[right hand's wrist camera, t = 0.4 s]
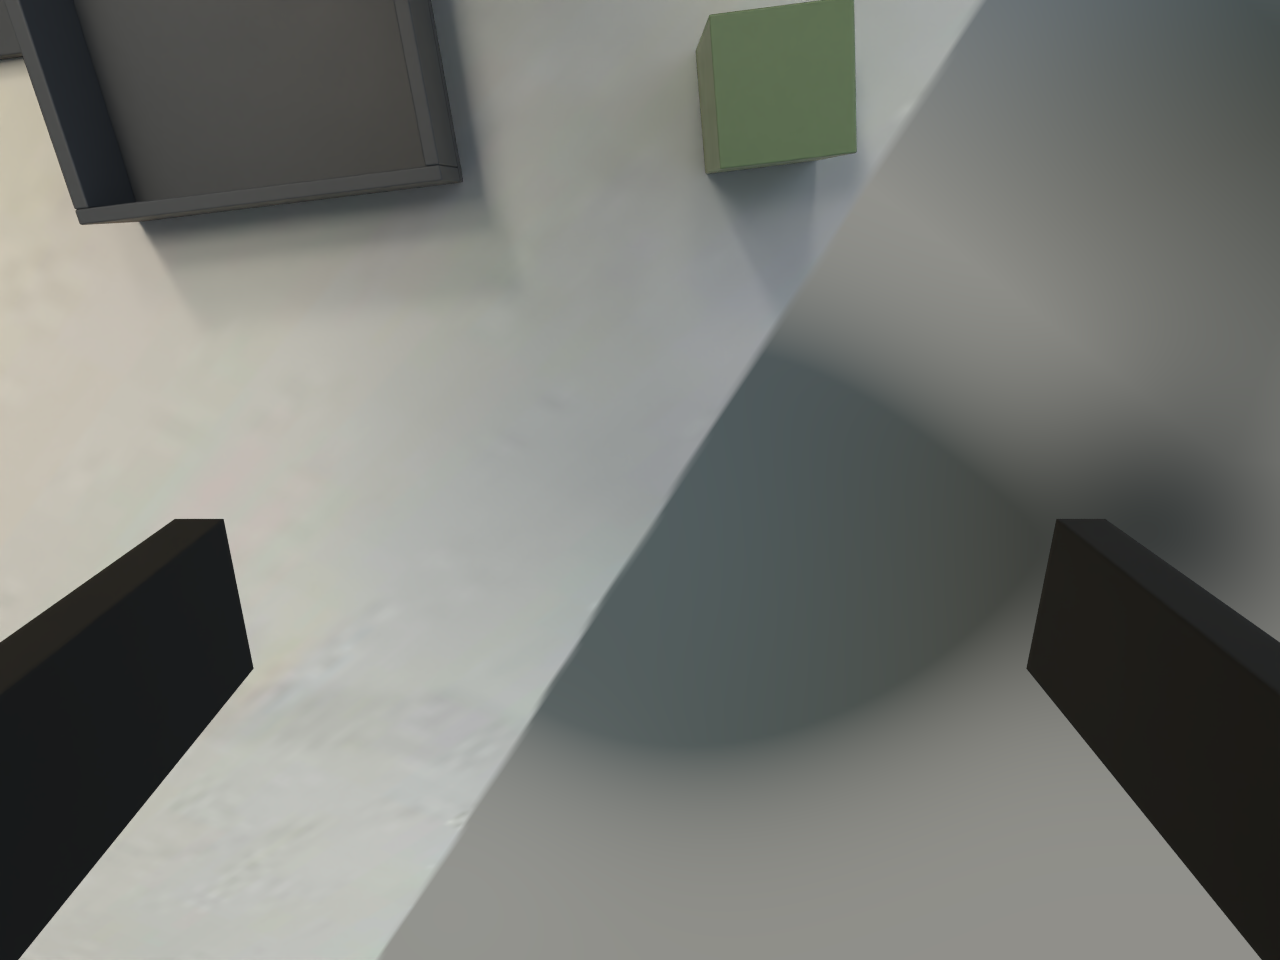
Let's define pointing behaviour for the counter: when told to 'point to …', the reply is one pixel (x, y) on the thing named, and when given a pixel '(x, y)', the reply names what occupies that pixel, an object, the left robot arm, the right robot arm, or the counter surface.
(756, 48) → the sage block
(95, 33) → the tray
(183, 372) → the counter surface
